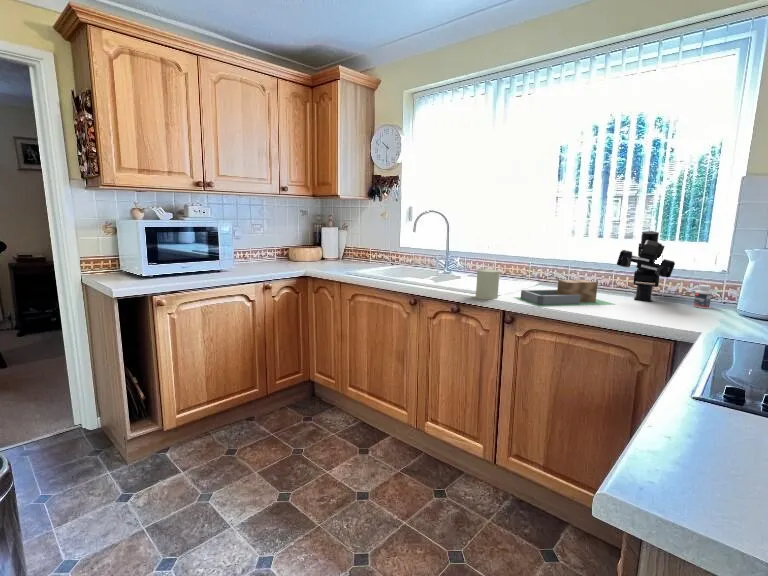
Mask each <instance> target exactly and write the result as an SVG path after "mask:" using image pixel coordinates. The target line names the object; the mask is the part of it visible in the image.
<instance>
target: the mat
mask: <svg viewBox="0 0 768 576" xmlns="http://www.w3.org/2000/svg"><path fill="white" fill-rule="evenodd" d="M512 298H513V299H516V300H519V301H521V302H525V303H526V304H530V305H532V306H536V307H538V308H540V307H541V308H542V307H573V306H575V307H576V306H579V307H580V306H607V305H613V306H614V305H617V304H616V303H612V302H609V301H604V300H601V299H598V298H596V302H580V304H561V305H538V304H535V303H532V302H529V301H526V300H523V299H521V296H516V297H515V296H514V297H512Z"/></svg>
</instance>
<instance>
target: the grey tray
mask: <svg viewBox="0 0 768 576" xmlns="http://www.w3.org/2000/svg"><path fill="white" fill-rule="evenodd" d="M520 297H521V299H523V300H526V301H529V302H532V303H535V304H538V305H561V304H580V295H557V289H522V290H521V291H520Z"/></svg>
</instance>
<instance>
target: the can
mask: <svg viewBox="0 0 768 576" xmlns="http://www.w3.org/2000/svg"><path fill="white" fill-rule="evenodd" d="M500 273H501V271H500V270H498V269H489V268H487V269H486V268H479V269H477V271H476V289H475V299H478V300H483V301H484V300H485V301H489V300H497V299H498V298H499V286H500V285H499V282H500V275H501V274H500Z"/></svg>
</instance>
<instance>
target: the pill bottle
mask: <svg viewBox="0 0 768 576" xmlns="http://www.w3.org/2000/svg"><path fill="white" fill-rule="evenodd" d="M697 286H698V287H697V289H696V290H695V291H694V298H693V304H692V306H693V307H694V308H697V307H698V309H709V308H710V306H711V301H712V292H711V289H712V285H708V284H698V285H697Z"/></svg>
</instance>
